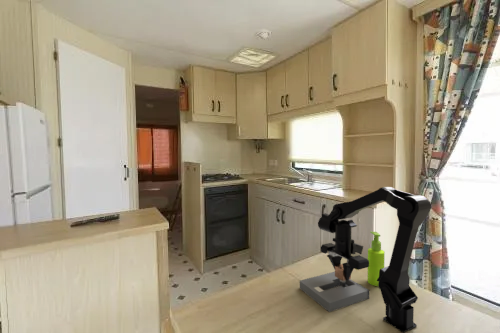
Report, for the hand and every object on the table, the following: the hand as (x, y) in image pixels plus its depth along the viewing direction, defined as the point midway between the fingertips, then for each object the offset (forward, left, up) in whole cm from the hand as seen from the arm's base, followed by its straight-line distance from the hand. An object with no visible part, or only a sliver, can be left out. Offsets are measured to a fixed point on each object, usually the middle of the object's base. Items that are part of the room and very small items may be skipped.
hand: (342, 277), depth 91 cm
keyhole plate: (0, +5, -5) cm, 7 cm away
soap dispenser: (-1, -17, -5) cm, 17 cm away
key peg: (0, 0, -4) cm, 4 cm away
